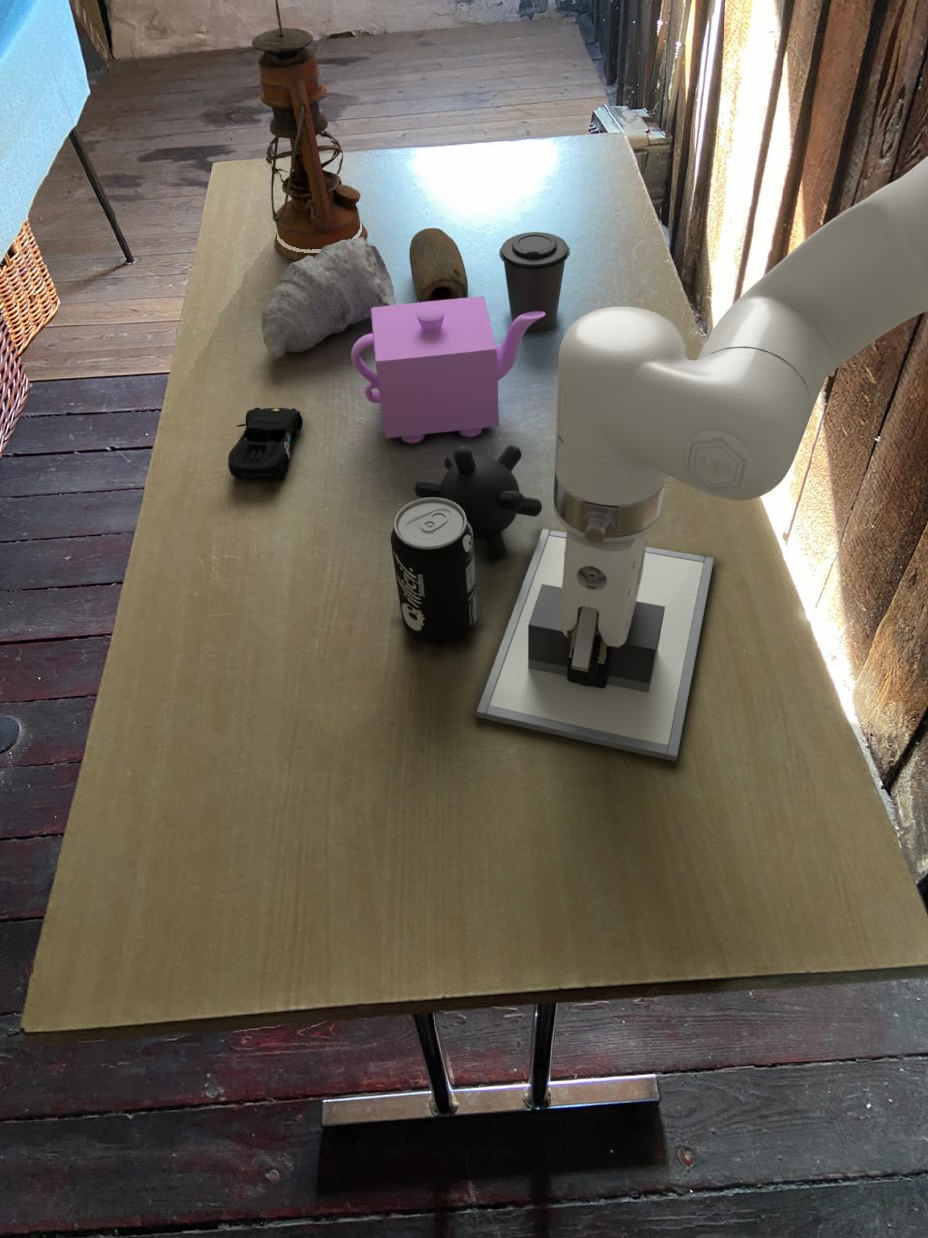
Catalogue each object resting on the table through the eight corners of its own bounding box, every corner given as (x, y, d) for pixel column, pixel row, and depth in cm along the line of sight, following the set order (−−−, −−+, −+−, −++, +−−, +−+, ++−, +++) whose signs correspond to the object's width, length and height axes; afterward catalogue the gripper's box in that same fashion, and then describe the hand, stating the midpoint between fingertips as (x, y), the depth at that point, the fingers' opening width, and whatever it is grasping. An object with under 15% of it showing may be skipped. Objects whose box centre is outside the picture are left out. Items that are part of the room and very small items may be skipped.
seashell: (269, 376, 109) (250, 297, 101) (266, 310, 118) (249, 233, 111) (406, 358, 110) (398, 278, 102) (392, 294, 119) (384, 217, 112)
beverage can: (387, 624, 82) (371, 524, 73) (439, 583, 85) (429, 482, 76) (441, 662, 79) (430, 563, 70) (493, 618, 82) (489, 517, 73)
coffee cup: (518, 346, 110) (518, 266, 103) (489, 313, 115) (487, 235, 108) (579, 328, 112) (583, 248, 105) (548, 296, 117) (549, 218, 110)
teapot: (363, 452, 98) (346, 348, 89) (359, 396, 105) (343, 293, 96) (551, 432, 99) (554, 326, 90) (535, 377, 106) (537, 273, 97)
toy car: (300, 412, 104) (293, 379, 101) (318, 479, 96) (311, 446, 93) (223, 427, 103) (214, 395, 99) (235, 496, 95) (225, 464, 92)
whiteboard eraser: (657, 650, 78) (665, 606, 74) (648, 693, 75) (655, 649, 71) (541, 627, 80) (541, 583, 76) (527, 668, 78) (528, 624, 73)
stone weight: (479, 323, 114) (477, 271, 109) (422, 331, 113) (418, 280, 108) (455, 263, 124) (452, 213, 119) (403, 271, 123) (398, 221, 118)
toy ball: (545, 566, 82) (411, 544, 80) (520, 564, 93) (400, 545, 91) (565, 445, 82) (429, 421, 80) (537, 457, 92) (417, 436, 90)
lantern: (380, 258, 126) (348, -1, 103) (284, 276, 124) (231, 17, 101) (353, 204, 137) (320, -40, 114) (265, 220, 135) (213, -26, 112)
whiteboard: (712, 564, 85) (714, 557, 85) (676, 762, 72) (677, 756, 71) (542, 534, 89) (542, 527, 88) (476, 717, 75) (476, 711, 75)
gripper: (643, 587, 58) (619, 750, 72) (682, 423, 68) (655, 592, 82) (525, 566, 59) (524, 729, 73) (581, 409, 70) (571, 577, 84)
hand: (593, 655), depth 77 cm, fingers closed on whiteboard eraser, 4 cm apart
